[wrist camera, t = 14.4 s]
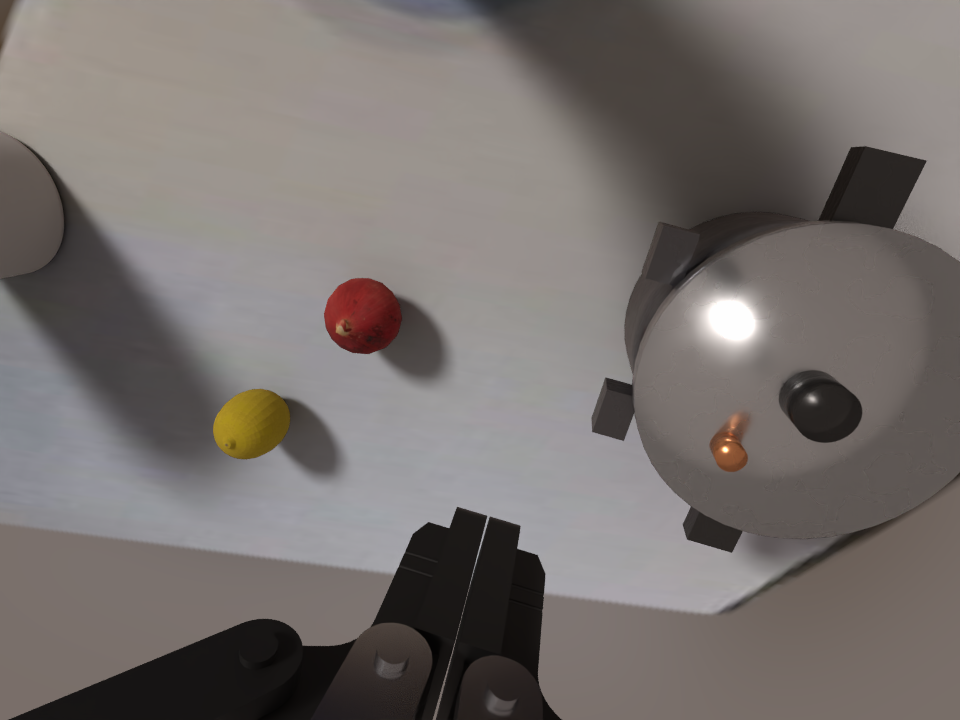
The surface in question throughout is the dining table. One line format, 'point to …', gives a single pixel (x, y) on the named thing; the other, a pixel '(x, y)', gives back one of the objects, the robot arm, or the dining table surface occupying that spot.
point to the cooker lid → (806, 380)
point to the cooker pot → (677, 251)
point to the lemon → (251, 424)
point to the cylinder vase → (26, 211)
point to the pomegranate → (362, 316)
